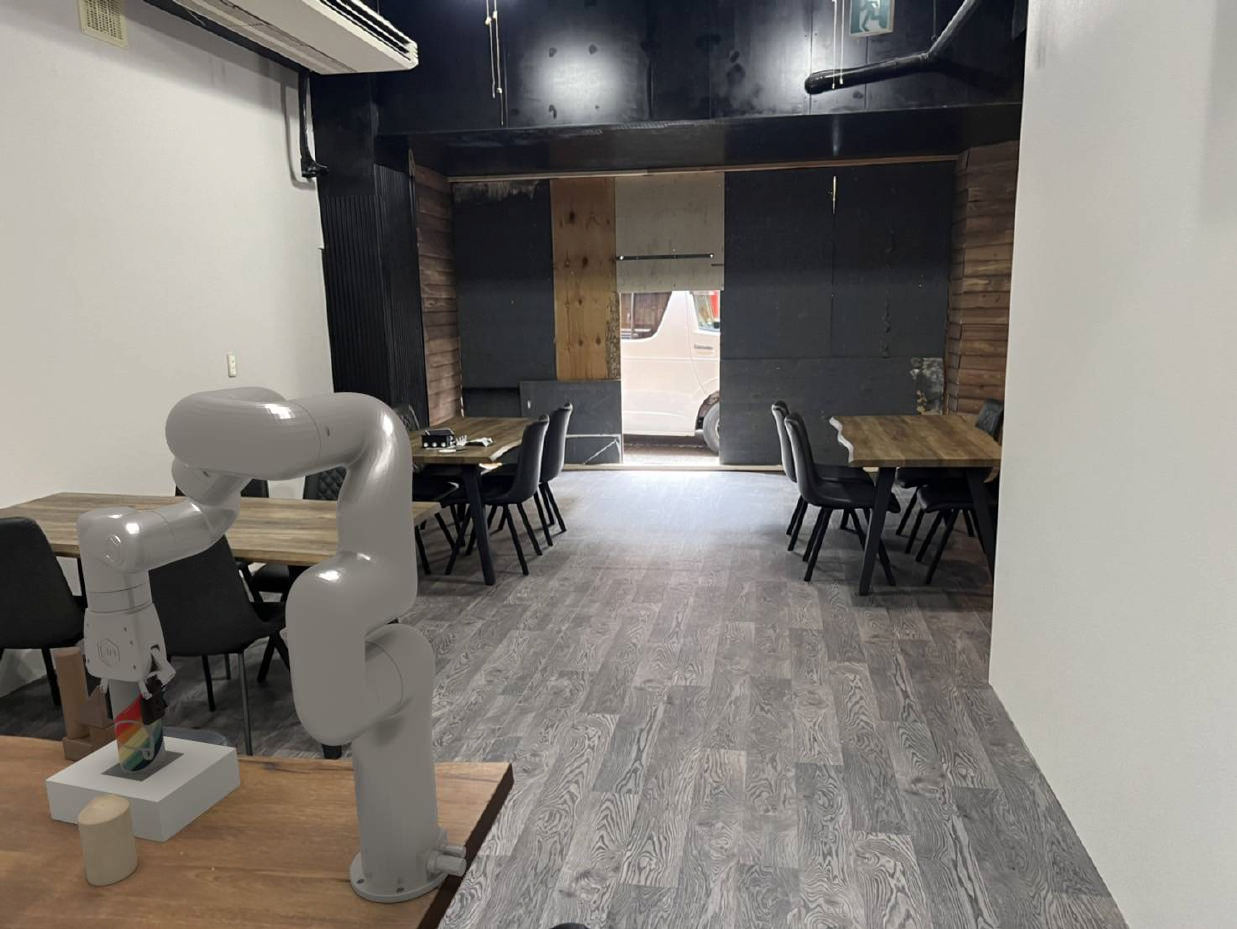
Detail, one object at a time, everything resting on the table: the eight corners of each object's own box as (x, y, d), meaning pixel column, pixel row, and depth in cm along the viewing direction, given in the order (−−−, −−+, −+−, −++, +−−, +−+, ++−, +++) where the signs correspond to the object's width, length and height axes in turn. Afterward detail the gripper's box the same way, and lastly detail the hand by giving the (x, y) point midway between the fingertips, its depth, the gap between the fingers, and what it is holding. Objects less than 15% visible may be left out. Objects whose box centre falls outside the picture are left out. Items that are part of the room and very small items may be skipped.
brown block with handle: (109, 771, 126) (93, 663, 123) (64, 759, 130) (47, 653, 127) (131, 759, 129) (116, 653, 126) (86, 747, 133) (70, 644, 130)
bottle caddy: (240, 785, 121) (236, 748, 120) (163, 842, 108) (157, 802, 107) (136, 766, 127) (131, 730, 126) (51, 818, 114) (45, 780, 113)
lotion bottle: (133, 780, 113) (115, 644, 109) (112, 768, 116) (93, 636, 112) (174, 761, 117) (157, 630, 114) (153, 750, 120) (136, 623, 117)
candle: (101, 892, 99) (89, 818, 97) (78, 877, 102) (66, 805, 100) (146, 866, 103) (136, 795, 102) (124, 852, 106) (113, 783, 105)
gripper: (47, 601, 111) (67, 723, 114) (145, 611, 106) (162, 739, 109) (96, 583, 118) (113, 699, 121) (190, 592, 113) (205, 713, 116)
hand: (136, 716), depth 115 cm, fingers closed on lotion bottle, 5 cm apart
